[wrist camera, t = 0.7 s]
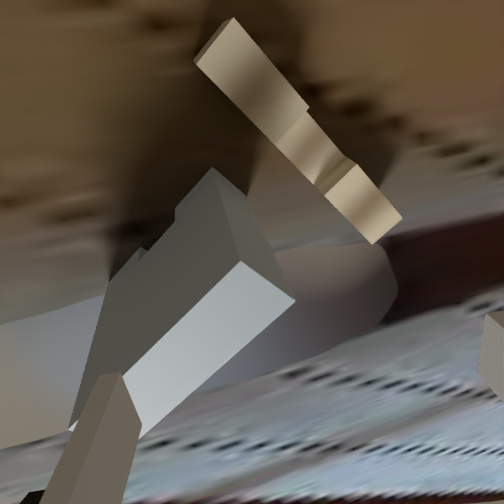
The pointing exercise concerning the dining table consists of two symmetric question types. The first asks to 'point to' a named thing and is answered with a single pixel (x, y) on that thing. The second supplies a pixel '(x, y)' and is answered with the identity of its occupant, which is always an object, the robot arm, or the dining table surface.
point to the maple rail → (293, 127)
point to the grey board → (186, 302)
